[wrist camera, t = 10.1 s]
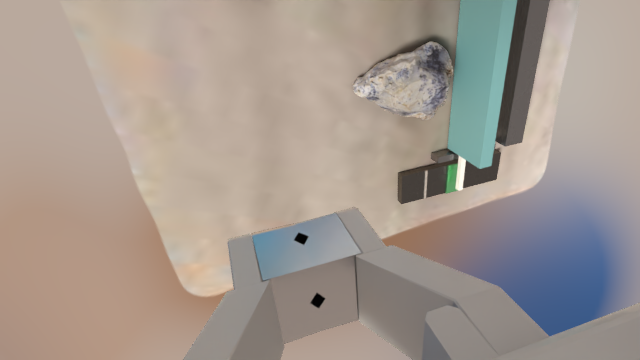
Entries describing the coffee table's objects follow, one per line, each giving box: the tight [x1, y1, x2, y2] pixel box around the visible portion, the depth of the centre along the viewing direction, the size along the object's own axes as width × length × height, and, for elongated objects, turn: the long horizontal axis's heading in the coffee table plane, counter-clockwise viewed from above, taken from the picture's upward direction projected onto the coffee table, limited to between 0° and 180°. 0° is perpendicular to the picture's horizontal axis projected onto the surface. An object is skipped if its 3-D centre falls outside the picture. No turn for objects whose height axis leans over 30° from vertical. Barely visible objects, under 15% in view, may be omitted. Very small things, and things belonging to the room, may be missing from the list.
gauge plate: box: [448, 0, 517, 191], centre depth 40 cm, size 23×2×6 cm, turn 5°
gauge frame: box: [398, 0, 550, 204], centre depth 41 cm, size 25×15×3 cm, turn 6°
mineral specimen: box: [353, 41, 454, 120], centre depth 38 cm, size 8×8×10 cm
